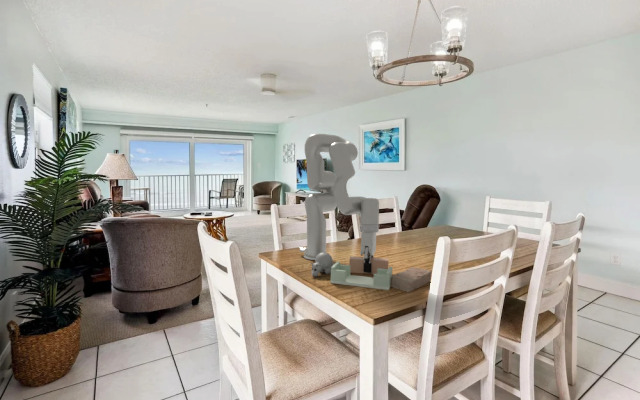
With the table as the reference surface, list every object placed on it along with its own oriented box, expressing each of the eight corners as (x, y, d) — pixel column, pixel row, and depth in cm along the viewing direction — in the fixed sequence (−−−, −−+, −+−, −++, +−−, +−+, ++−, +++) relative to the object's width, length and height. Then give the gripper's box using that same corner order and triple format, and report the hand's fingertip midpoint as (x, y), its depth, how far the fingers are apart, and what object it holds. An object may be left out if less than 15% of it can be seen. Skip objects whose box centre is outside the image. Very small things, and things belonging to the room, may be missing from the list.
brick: (409, 293, 116) (409, 280, 116) (389, 287, 122) (389, 274, 122) (431, 282, 128) (432, 270, 127) (412, 277, 134) (412, 266, 133)
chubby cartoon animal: (308, 280, 136) (302, 263, 133) (326, 264, 144) (320, 247, 141) (320, 284, 131) (314, 266, 128) (338, 267, 139) (333, 250, 136)
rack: (330, 282, 125) (330, 267, 125) (337, 275, 134) (337, 261, 133) (388, 290, 118) (389, 273, 118) (392, 282, 126) (392, 266, 126)
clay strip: (349, 272, 139) (349, 258, 138) (350, 269, 142) (350, 256, 142) (388, 275, 136) (388, 260, 135) (387, 272, 140) (388, 258, 139)
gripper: (364, 224, 147) (364, 264, 148) (355, 230, 131) (355, 275, 132) (381, 225, 144) (380, 266, 146) (374, 231, 128) (373, 277, 130)
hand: (368, 270), depth 139 cm, fingers closed on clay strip, 4 cm apart
